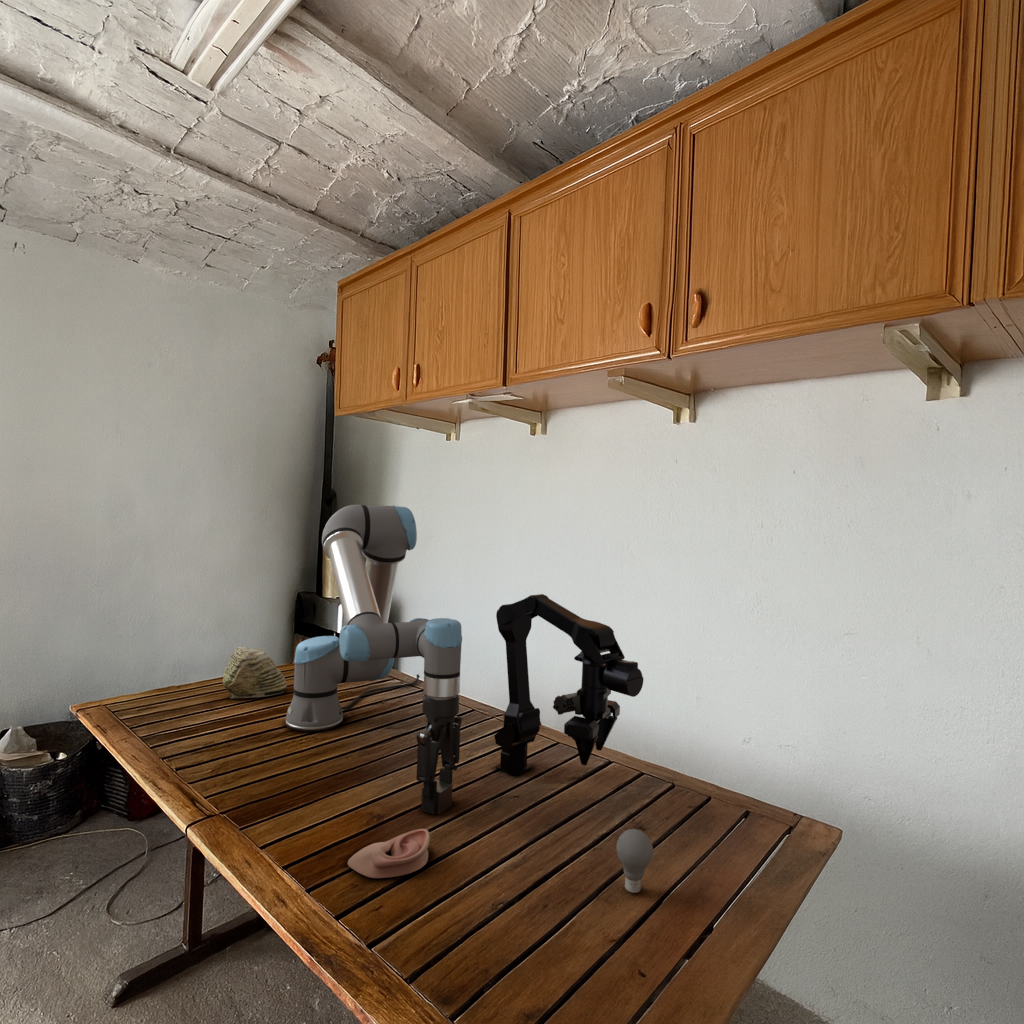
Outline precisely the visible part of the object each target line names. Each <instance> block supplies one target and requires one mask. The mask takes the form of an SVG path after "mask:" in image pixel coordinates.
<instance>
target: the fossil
mask: <svg viewBox="0 0 1024 1024" xmlns="http://www.w3.org/2000/svg"><path fill="white" fill-rule="evenodd" d="M222 676H223V677H222V685H223V687H224V688H225V690H226V691H228V693H229V698H230V699H250V698H264V697H271V696H275V695H281V694H284V693H285V691H286V689H287V687H288V686H287V680H286V678H285V676H284V674H283V673H282V672H281V669H279V668H278V667H277V665H276V663H275V662H274V660H273V659H272V658H271V657H270V656H269V655H268V654H267V653H266V652H265V650H264V649H263V648H260V647H258V648H251V647H247V646H246V647H245V646H238V647H237V648H236V649H235V650H233V651H232V653H231V656H230V657H229V659H228V660H227V663H226V666H225V668H224V671H223V675H222Z"/></svg>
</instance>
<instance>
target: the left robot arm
mask: <svg viewBox="0 0 1024 1024" xmlns="http://www.w3.org/2000/svg"><path fill="white" fill-rule="evenodd" d="M417 539H418V530H417V524H416V519H415V516H414V514H413V512H412V510H411V509H410V508H408V507H406V506H400V505H399V506H397V505H394V504H392V505H378V504H377V505H376V504H375V505H374V504H373V505H371V504H349V505H346V506H344V507H342V508H340V509H338V510H336V512H334V513H333V514H332V515H331V516H330V517H329V519H328V520H327V522H326V524H325V526H324V528H323V530H322V534H321V545H322V550H323V553H324V555H325V557H327V558H328V559H329V560H330V561H329V562H330V564H331V568H332V573H333V576H334V581H335V585H336V588H337V593H338V596H339V600H340V601H339V602H340V605H341V608H342V613H343V617H344V622H345V625H343V627H341V629H340V631H339V637H338V636H336V635H321V636H315V637H310V638H308V639H305V640H303V641H300V642H299V643H298V644H297V645H296V648H295V654H294V660H293V663H294V672H293V673H294V674H293V675H294V676H293V677H294V679H293V695H292V696H293V697H292V699H291V702H290V704H289V706H288V708H287V713H286V715H285V726H286V728H287V729H289V730H291V731H294V732H295V731H296V732H301V733H316V732H325V731H329V730H332V729H335V728H337V727H339V726H340V725H342V723H343V722H344V714H343V710H346V709H349V708H350V707H351V706H352V705H353V704H355V702H356V701H358V700H359V699H361V698H362V697H363V696H366V695H367V694H370V693H374V692H377V691H378V692H379V691H384V690H390V689H396V688H397V689H398V688H403V687H409V686H413V685H416V684H417V683H418V682H419V678H420V674H418V673H417V674H416V679H415V681H413V682H409V683H403V684H397V685H390V686H385V687H384V686H383V687H378V688H372V689H370V690H366V691H364V692H362V693H361V694H359V695H358V696H356V697H355V698H354V699H352V701H350V702H349V703H348V704H347V705H343V706H341V702H340V699H339V695H338V685H339V684H348V683H361V682H368V681H369V682H375V681H377V680H383V679H386V678H387V677H388V676H389V675H390V673H391V671H392V669H393V668H394V663H395V659H402V658H414V657H421V658H423V659H424V660H423V694H424V695H422V713H423V715H424V716H425V717H426V723H425V726H424V727H425V729H424V730H423V732H420V731H419V732H417V733H416V741H417V753H416V756H417V757H416V758H417V759H416V779H415V780H416V781H417V782H420V783H422V784H423V785H422V787H423V809H422V812H424V813H428V814H431V815H435V814H436V799H437V781H435V779H436V775H437V768H438V763H439V756H440V759H441V765H442V766H441V768H440V769H439V778H438V780H439V781H443V782H446V783H449V784H452V785H453V774H454V773H453V772H454V771H457V770H458V768H459V766H458V764H459V763H460V750H461V749H460V748H461V747H460V746H461V727H462V721H463V718H462V717H463V716H462V717H461V716H457V715H458V714H459V713H460V696H459V694H460V693H461V663H462V644H463V634H462V631H463V630H462V624H461V622H460V621H459V620H457V619H454V618H453V619H452V618H449V617H447V618H446V617H437V618H431V619H428V618H424V617H423V618H422V617H416V618H413V619H411V620H409V621H403V622H389V617H390V612H391V606H392V601H393V595H394V590H395V584H396V578H397V574H398V567H399V564H400V563H401V562H402V561H404V560H405V559H406V554H407V551H411V550H412V551H413V550H414V549H415V547H416V546H417ZM364 557H365V559H366V560H365V559H364ZM456 764H457V765H456Z"/></svg>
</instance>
